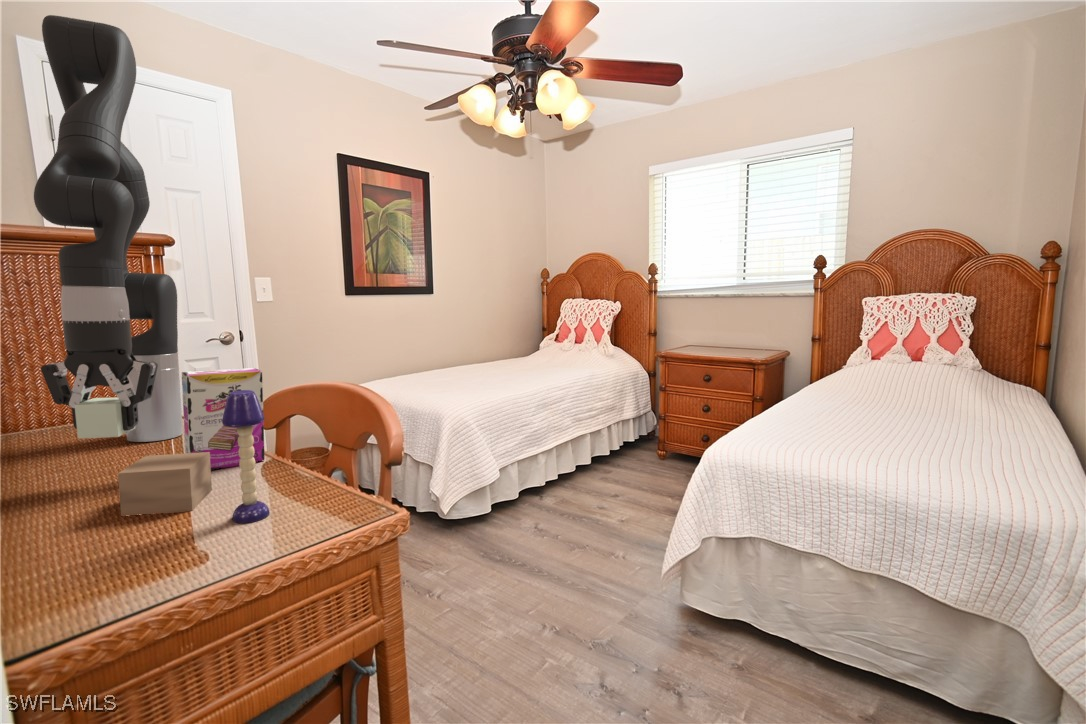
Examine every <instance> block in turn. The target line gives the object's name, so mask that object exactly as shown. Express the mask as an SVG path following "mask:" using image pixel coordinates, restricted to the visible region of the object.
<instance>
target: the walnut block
mask: <svg viewBox="0 0 1086 724" xmlns="http://www.w3.org/2000/svg"><path fill="white" fill-rule="evenodd" d="M117 479H118V492H119V493H118V494H119V506H120V507H119V508H120V517H121V516H126V515H137V514H138V515H139V514H151V515H156V514H155V513H163V514H172V513H185V512H193V511H194V510H195V509H196V507H198V505H200V503H202V501H203V500H204V499H205V498H207V497H208V495H209V494H210V493H211V492H212V491H213V487H212V470H211V465H210V452H201V453H185V452H184V453H173V454H168V453H167V454H157V455H156V454H155V455H154V454H151V455H145V456H143V457H142V458H140V459H138V460H137V461H135V462H134V463H132V464H131V465H129V466H127V467H126V468H124V469H122V470H121V471H119V472H118V473H117ZM153 513H154V514H153Z"/></svg>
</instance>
